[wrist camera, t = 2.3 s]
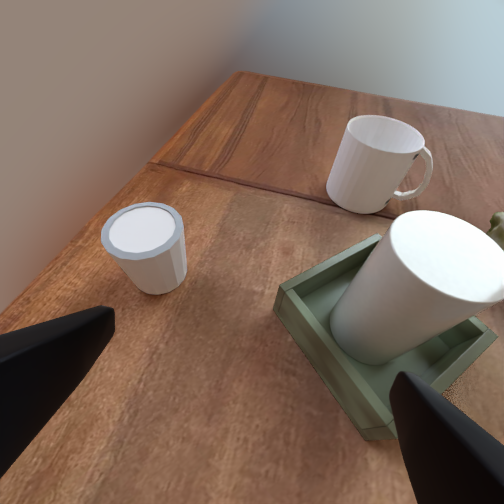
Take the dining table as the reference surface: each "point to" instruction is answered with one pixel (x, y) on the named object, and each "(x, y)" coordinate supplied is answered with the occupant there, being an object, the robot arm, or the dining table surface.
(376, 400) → the wooden box
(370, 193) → the mug
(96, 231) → the dining table surface
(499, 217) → the fruit
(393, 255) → the white cylinder
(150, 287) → the faceted white cup
